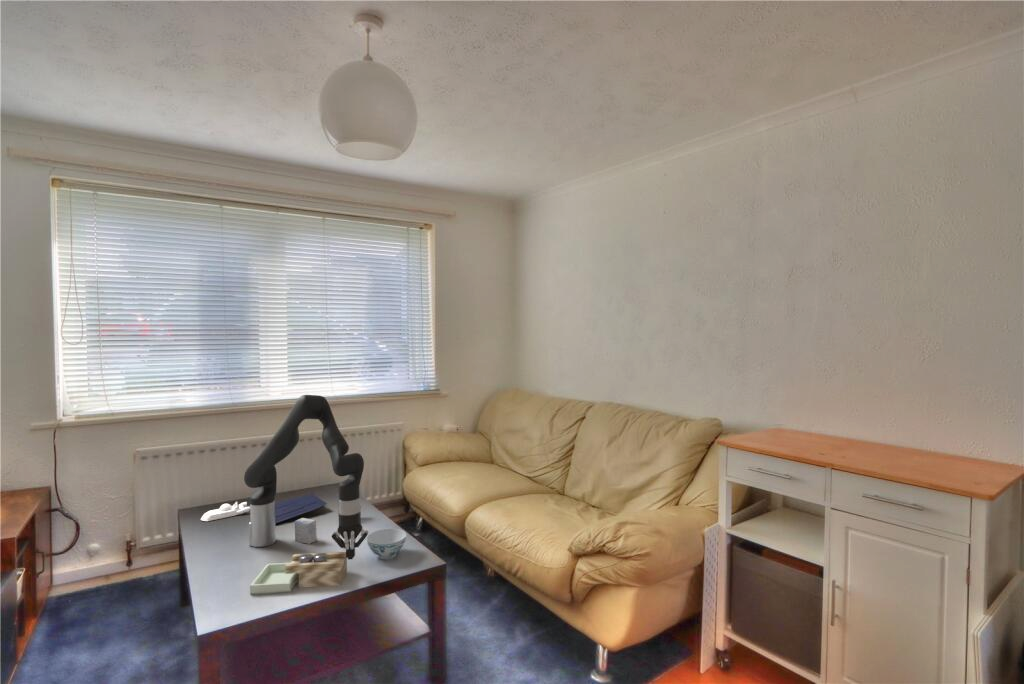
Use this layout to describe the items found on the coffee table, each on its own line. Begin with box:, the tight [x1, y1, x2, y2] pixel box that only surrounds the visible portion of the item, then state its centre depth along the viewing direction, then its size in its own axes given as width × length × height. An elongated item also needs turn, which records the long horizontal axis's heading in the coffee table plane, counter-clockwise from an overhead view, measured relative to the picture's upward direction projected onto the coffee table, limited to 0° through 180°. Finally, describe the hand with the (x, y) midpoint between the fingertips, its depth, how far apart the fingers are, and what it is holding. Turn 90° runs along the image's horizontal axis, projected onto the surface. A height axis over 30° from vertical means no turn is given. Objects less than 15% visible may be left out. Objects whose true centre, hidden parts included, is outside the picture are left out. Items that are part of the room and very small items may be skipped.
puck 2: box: [314, 552, 327, 562], centre depth 187 cm, size 4×4×2 cm
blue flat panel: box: [248, 493, 328, 525], centre depth 253 cm, size 24×30×4 cm
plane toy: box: [200, 501, 250, 522], centre depth 251 cm, size 10×20×6 cm, turn 126°
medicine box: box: [294, 517, 318, 545], centre depth 220 cm, size 8×4×9 cm, turn 65°
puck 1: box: [299, 553, 312, 563], centre depth 186 cm, size 4×4×2 cm
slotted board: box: [285, 551, 348, 588], centre depth 187 cm, size 18×10×8 cm, turn 96°
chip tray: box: [249, 562, 299, 595], centre depth 186 cm, size 13×16×3 cm
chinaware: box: [366, 528, 407, 560], centre depth 206 cm, size 15×15×8 cm
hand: (350, 558), depth 188 cm, fingers closed
